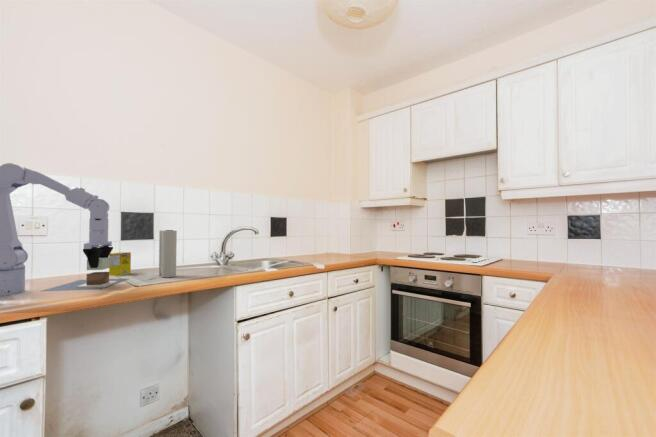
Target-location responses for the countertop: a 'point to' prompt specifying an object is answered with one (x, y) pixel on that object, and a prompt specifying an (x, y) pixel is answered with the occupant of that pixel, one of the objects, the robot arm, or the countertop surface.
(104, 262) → the sage block
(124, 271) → the supplement box
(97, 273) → the walnut block
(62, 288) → the board
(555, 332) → the countertop surface
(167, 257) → the tall grey block
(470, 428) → the countertop surface
